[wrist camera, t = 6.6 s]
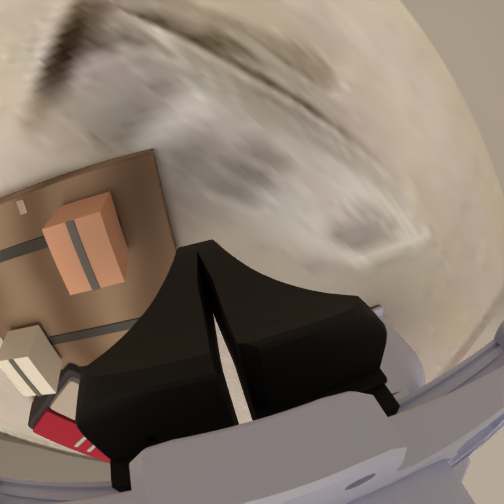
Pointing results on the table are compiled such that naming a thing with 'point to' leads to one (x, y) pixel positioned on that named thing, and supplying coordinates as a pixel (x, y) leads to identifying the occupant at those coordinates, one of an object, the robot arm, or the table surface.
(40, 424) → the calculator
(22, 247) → the mixer panel
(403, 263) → the table surface
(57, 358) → the ivory fader
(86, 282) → the terracotta fader
